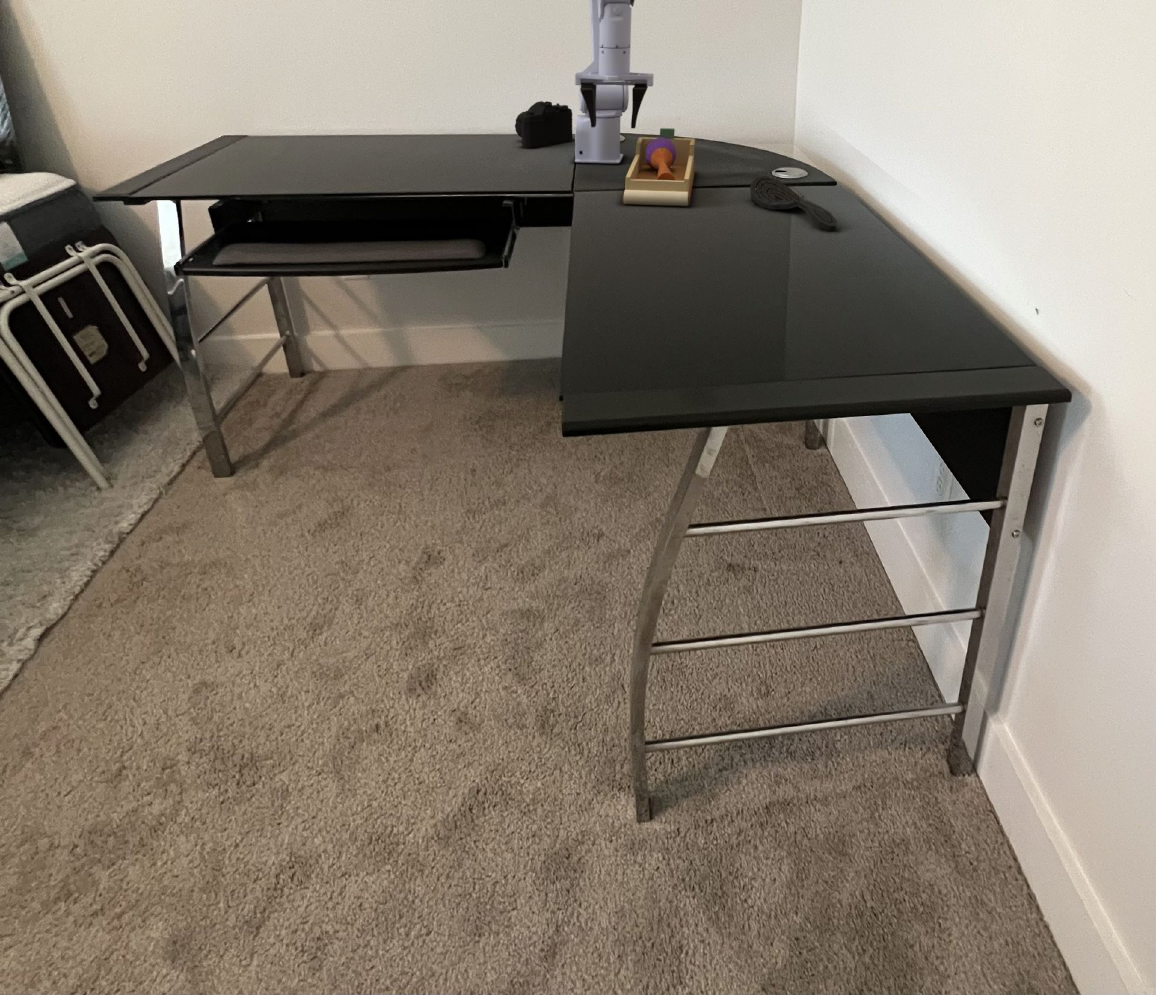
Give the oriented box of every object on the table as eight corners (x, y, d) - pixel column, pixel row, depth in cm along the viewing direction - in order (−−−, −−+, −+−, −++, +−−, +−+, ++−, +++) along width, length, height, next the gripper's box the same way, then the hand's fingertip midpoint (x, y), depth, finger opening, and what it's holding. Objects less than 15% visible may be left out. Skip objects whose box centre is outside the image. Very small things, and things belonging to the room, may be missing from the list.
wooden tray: (688, 207, 148) (692, 157, 143) (621, 205, 149) (623, 156, 145) (694, 172, 170) (697, 128, 165) (636, 170, 171) (637, 127, 167)
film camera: (550, 134, 203) (550, 94, 198) (577, 140, 197) (577, 98, 192) (501, 143, 195) (499, 101, 190) (528, 150, 189) (526, 106, 184)
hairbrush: (812, 215, 133) (742, 172, 152) (808, 238, 135) (739, 193, 154) (858, 211, 135) (783, 169, 154) (853, 234, 137) (779, 190, 156)
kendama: (646, 168, 149) (642, 137, 165) (651, 201, 152) (647, 167, 168) (680, 161, 148) (672, 131, 164) (684, 195, 152) (676, 162, 167)
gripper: (572, 48, 151) (572, 129, 159) (652, 49, 149) (649, 131, 157) (578, 44, 157) (578, 123, 165) (655, 45, 155) (652, 124, 163)
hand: (613, 127), depth 161 cm, fingers open, 7 cm apart
